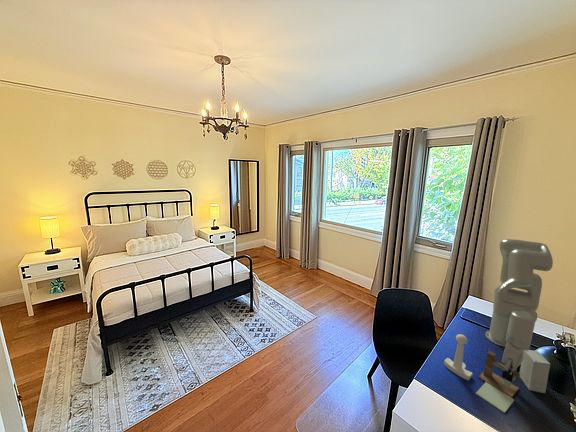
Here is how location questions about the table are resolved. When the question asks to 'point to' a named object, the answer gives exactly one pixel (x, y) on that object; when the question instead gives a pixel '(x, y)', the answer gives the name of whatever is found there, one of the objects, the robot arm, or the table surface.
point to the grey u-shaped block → (512, 378)
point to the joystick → (459, 359)
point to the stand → (495, 379)
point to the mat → (495, 397)
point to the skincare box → (534, 371)
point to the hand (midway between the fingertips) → (510, 374)
